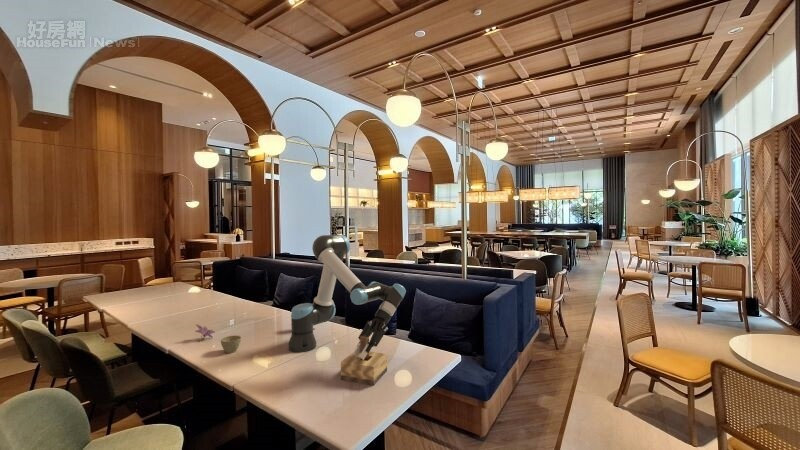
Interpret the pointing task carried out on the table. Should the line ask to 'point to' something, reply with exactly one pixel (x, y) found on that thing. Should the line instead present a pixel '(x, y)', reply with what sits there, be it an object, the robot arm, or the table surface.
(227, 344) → the flower pot
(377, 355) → the socket block
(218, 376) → the table surface
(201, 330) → the lily
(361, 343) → the pin
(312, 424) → the table surface
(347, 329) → the table surface
